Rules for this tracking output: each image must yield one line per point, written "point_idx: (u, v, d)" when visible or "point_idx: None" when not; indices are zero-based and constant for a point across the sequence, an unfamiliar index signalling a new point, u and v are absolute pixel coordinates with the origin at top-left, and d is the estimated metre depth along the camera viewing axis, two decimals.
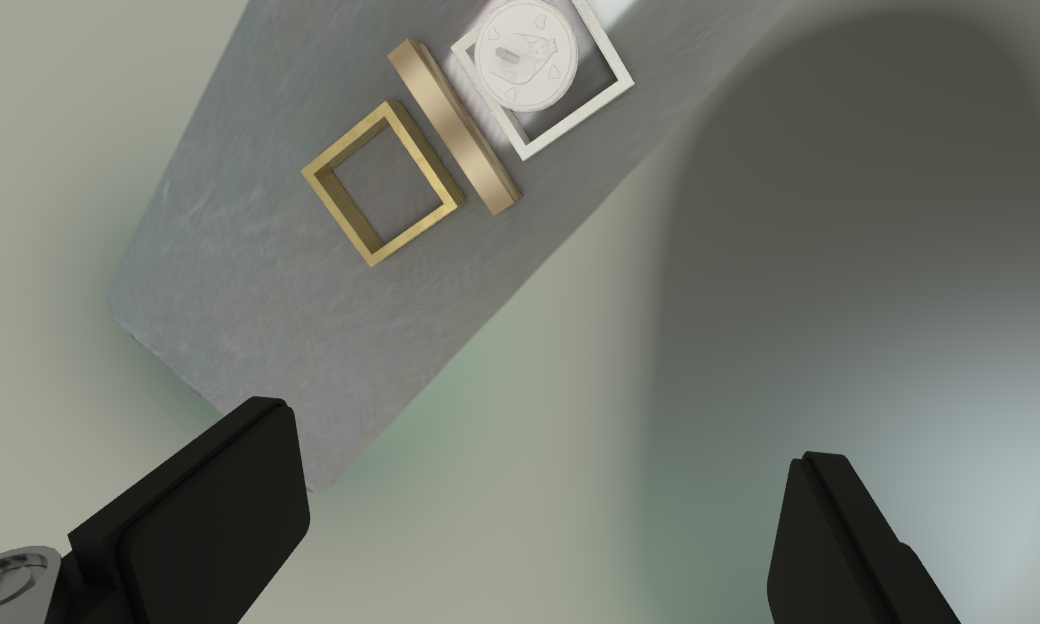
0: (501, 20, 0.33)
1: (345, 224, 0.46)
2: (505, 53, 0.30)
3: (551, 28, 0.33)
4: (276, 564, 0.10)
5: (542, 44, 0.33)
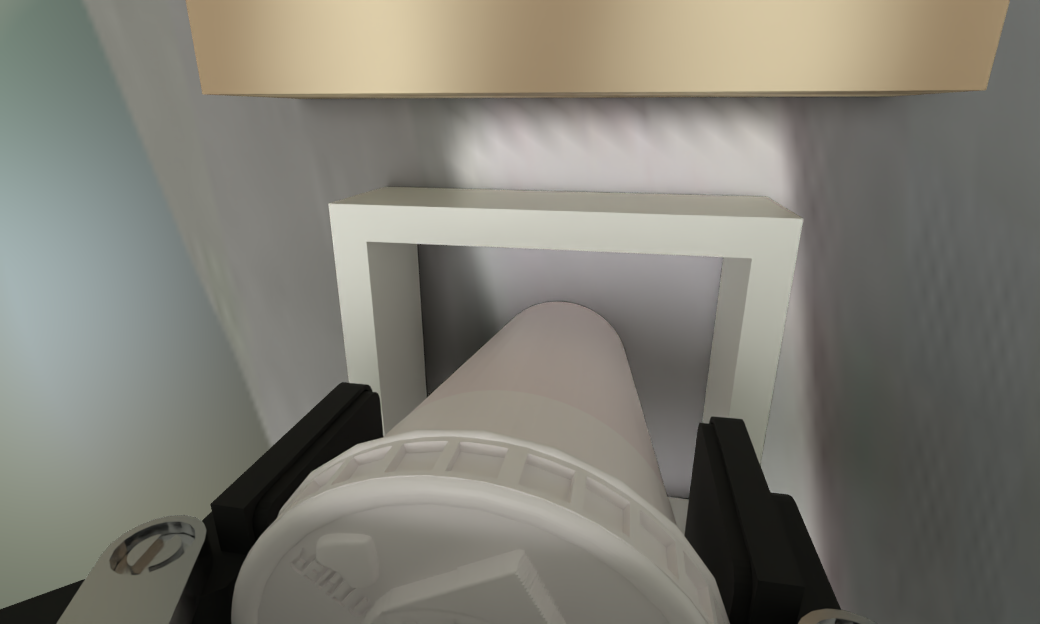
0: None
1: None
2: None
3: None
4: None
5: None
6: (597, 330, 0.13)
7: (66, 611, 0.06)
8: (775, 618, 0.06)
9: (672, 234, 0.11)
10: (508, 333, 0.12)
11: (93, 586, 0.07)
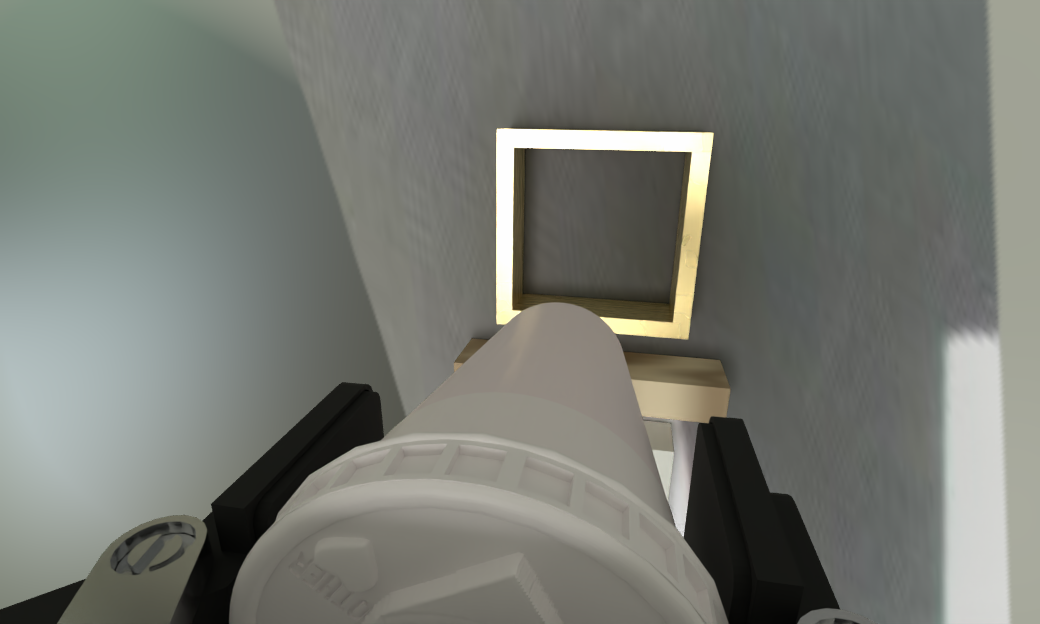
0: None
1: (585, 141, 0.25)
2: None
3: None
4: None
5: None
6: (595, 331, 0.13)
7: (67, 611, 0.06)
8: (774, 618, 0.06)
9: None
10: (506, 334, 0.12)
11: (94, 586, 0.07)
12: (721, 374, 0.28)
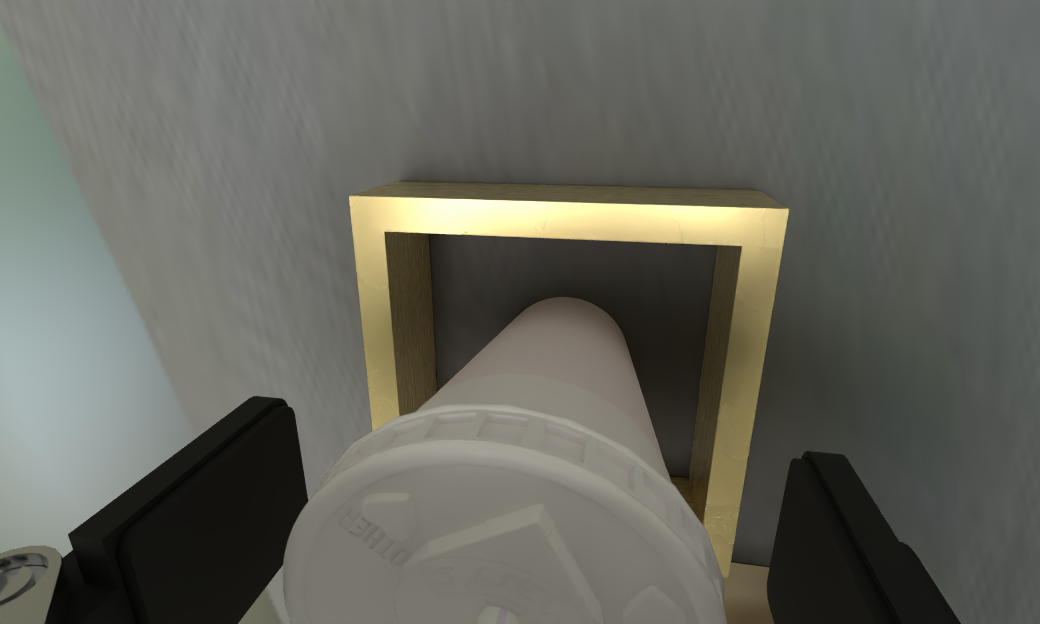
0: None
1: (522, 221, 0.12)
2: None
3: None
4: (276, 564, 0.10)
5: None
6: (601, 323, 0.14)
7: None
8: None
9: None
10: (518, 325, 0.13)
11: None
12: None
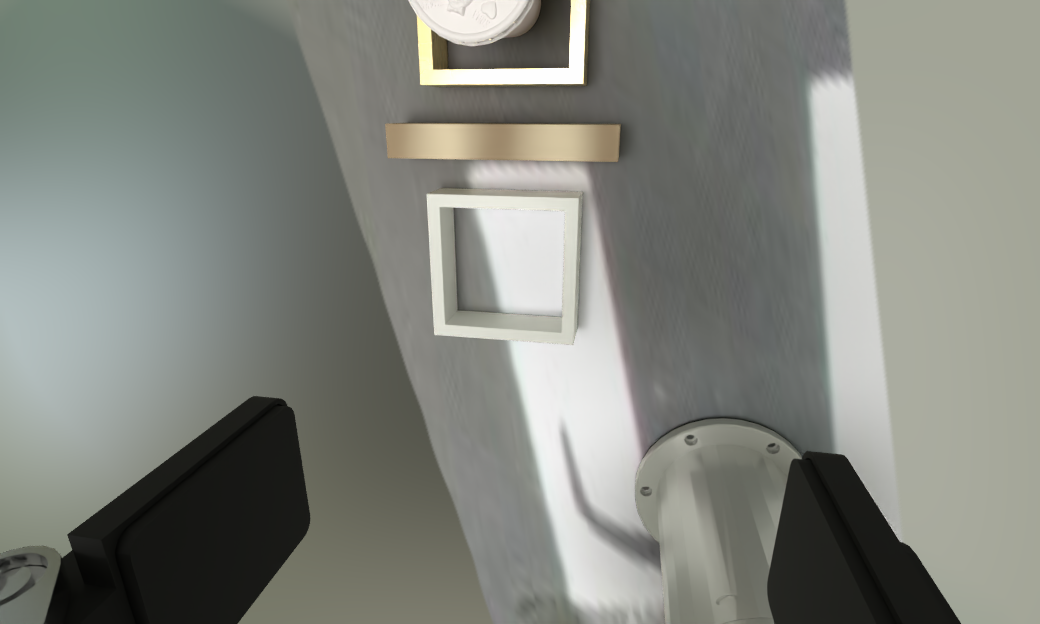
0: None
1: None
2: None
3: (475, 19, 0.25)
4: (276, 564, 0.10)
5: None
6: None
7: None
8: None
9: (540, 203, 0.34)
10: None
11: None
12: (617, 124, 0.33)
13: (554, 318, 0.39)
